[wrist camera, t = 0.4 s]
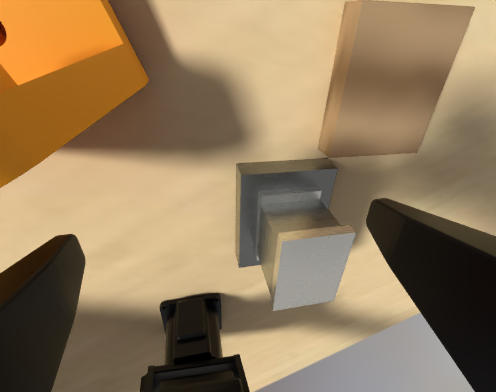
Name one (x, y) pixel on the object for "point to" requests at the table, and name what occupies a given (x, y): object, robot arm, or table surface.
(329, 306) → the table surface
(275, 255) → the block
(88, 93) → the bracket
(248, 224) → the stand
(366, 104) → the stand
